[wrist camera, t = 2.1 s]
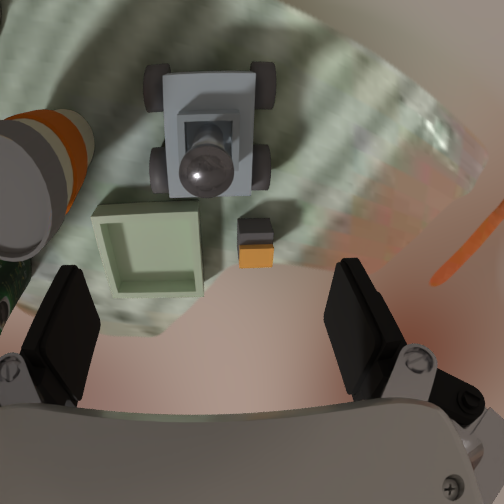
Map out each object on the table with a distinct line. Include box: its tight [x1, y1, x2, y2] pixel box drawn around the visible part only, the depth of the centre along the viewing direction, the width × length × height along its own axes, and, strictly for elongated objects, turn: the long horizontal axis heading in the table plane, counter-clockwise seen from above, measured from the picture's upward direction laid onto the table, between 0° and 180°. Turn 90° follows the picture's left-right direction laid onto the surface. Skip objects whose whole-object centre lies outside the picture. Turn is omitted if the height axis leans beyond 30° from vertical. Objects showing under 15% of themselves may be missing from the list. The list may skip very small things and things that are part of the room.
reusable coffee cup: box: [0, 109, 95, 262], centre depth 25 cm, size 13×13×15 cm
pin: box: [179, 124, 234, 198], centre depth 24 cm, size 4×4×9 cm
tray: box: [91, 200, 204, 298], centre depth 40 cm, size 13×13×3 cm
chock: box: [237, 218, 274, 268], centre depth 40 cm, size 4×4×4 cm
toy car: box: [143, 61, 276, 198], centre depth 29 cm, size 14×12×8 cm
